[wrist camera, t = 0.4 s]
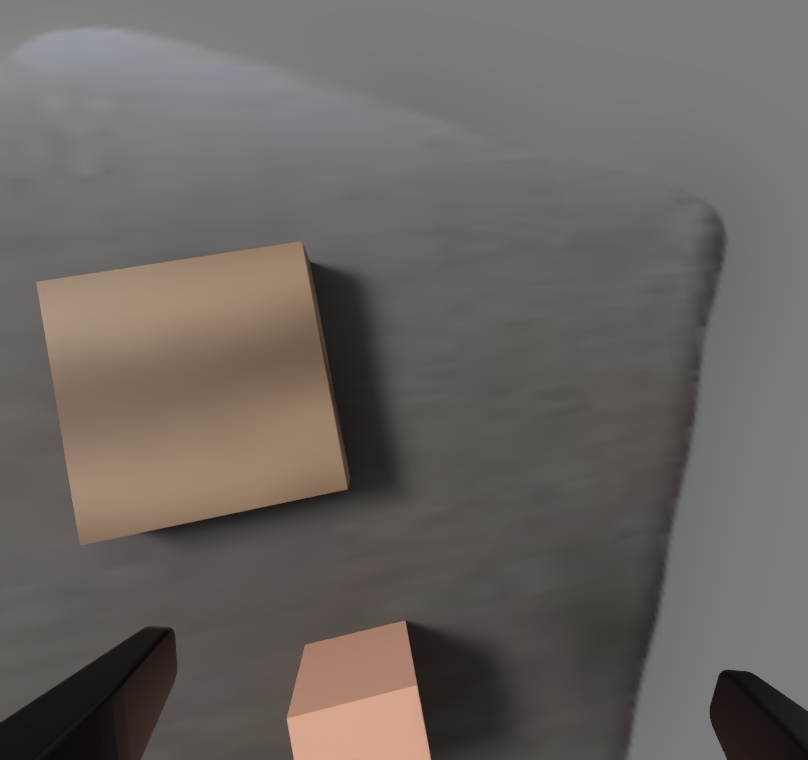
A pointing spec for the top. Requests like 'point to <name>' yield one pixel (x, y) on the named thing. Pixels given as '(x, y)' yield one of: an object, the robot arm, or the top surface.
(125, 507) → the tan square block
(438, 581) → the top surface
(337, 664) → the salmon pink cube
